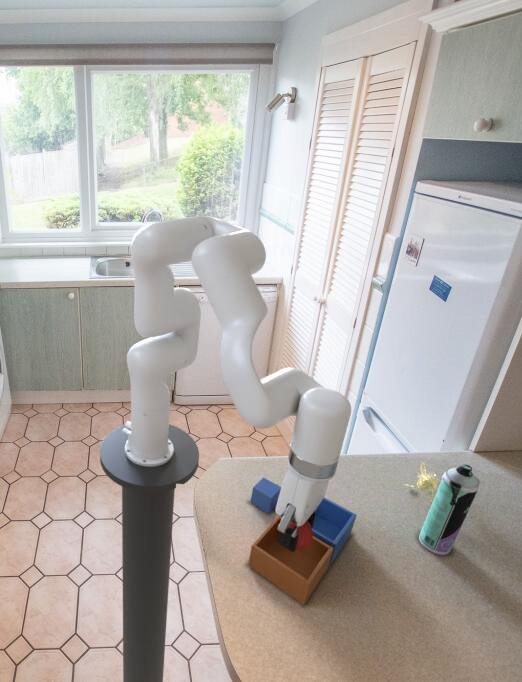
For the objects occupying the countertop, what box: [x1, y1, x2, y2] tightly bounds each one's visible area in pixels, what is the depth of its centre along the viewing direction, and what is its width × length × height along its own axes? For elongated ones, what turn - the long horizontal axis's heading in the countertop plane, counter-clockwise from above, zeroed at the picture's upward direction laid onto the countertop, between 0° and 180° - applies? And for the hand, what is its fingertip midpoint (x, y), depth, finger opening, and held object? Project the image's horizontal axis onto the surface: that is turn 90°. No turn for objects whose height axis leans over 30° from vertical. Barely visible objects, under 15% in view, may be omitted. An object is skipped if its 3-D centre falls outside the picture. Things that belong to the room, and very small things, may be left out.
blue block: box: [250, 476, 282, 514], centre depth 100 cm, size 4×4×4 cm
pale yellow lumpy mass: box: [403, 458, 442, 505], centre depth 100 cm, size 11×15×9 cm
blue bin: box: [281, 496, 357, 566], centre depth 92 cm, size 11×10×6 cm
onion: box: [289, 521, 313, 550], centre depth 82 cm, size 6×6×8 cm
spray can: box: [418, 464, 481, 556], centre depth 87 cm, size 6×6×20 cm
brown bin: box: [247, 514, 334, 606], centre depth 85 cm, size 11×10×6 cm
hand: (294, 534), depth 83 cm, fingers closed on onion, 5 cm apart
